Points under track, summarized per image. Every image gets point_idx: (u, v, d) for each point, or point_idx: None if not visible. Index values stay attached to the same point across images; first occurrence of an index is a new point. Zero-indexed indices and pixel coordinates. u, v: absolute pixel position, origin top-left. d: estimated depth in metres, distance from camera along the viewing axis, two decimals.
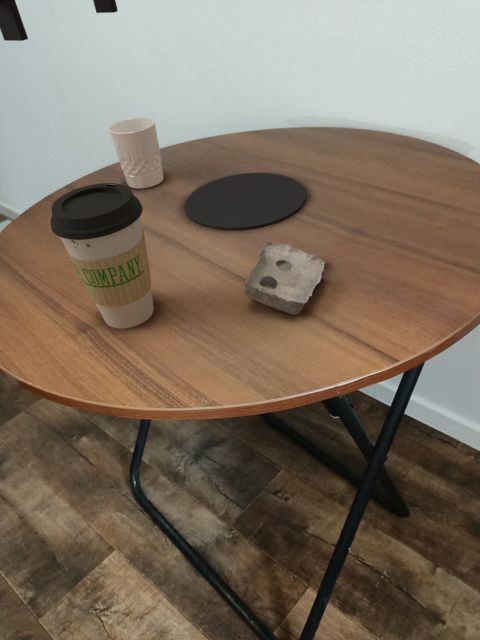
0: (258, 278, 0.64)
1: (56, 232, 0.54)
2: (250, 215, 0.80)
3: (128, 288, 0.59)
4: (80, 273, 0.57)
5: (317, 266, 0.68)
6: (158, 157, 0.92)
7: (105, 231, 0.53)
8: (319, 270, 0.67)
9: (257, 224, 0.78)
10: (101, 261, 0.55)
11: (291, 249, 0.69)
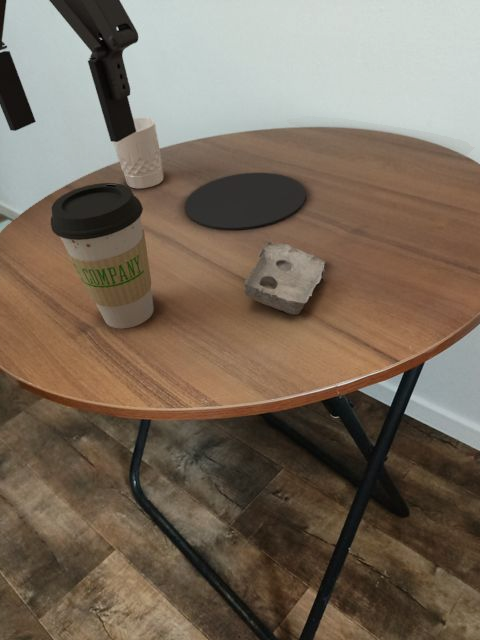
0: (258, 278, 0.64)
1: (56, 232, 0.54)
2: (250, 215, 0.80)
3: (128, 288, 0.59)
4: (80, 273, 0.57)
5: (317, 267, 0.68)
6: (158, 157, 0.92)
7: (105, 231, 0.53)
8: (319, 270, 0.67)
9: (257, 224, 0.78)
10: (101, 261, 0.55)
11: (291, 249, 0.69)
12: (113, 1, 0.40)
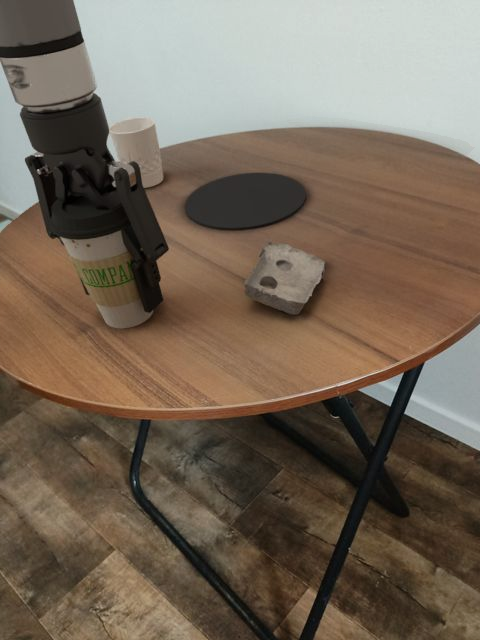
0: (258, 278, 0.64)
1: (56, 232, 0.54)
2: (250, 215, 0.80)
3: (128, 288, 0.59)
4: (80, 273, 0.57)
5: (317, 266, 0.68)
6: (158, 157, 0.92)
7: (105, 231, 0.53)
8: (319, 270, 0.67)
9: (257, 224, 0.78)
10: (101, 261, 0.55)
11: (291, 249, 0.69)
12: (155, 229, 0.54)
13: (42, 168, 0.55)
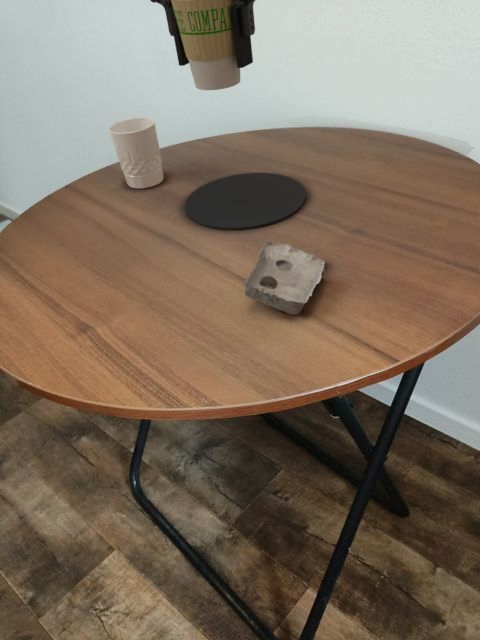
0: (258, 278, 0.64)
1: None
2: (250, 215, 0.80)
3: (225, 39, 0.65)
4: (184, 21, 0.64)
5: (317, 266, 0.68)
6: (158, 157, 0.92)
7: None
8: (319, 270, 0.67)
9: (257, 224, 0.78)
10: (207, 0, 0.61)
11: (291, 249, 0.69)
12: None
13: None
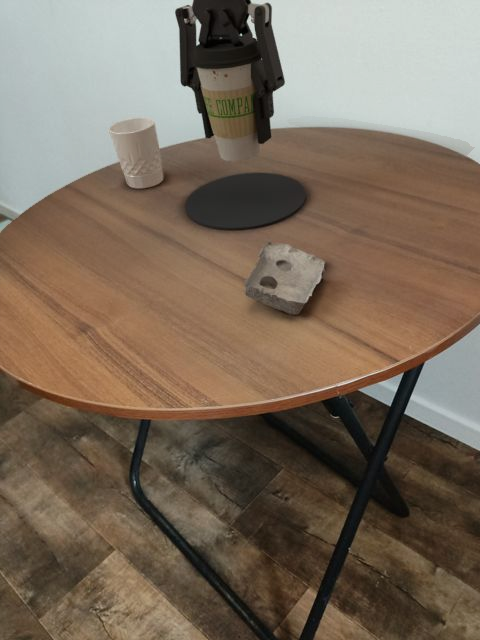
0: (258, 278, 0.64)
1: (201, 65, 0.69)
2: (250, 215, 0.80)
3: (248, 120, 0.74)
4: (212, 106, 0.73)
5: (317, 267, 0.68)
6: (158, 157, 0.92)
7: (241, 62, 0.68)
8: (319, 270, 0.67)
9: (257, 224, 0.78)
10: (233, 91, 0.71)
11: (291, 249, 0.69)
12: (277, 63, 0.69)
13: (188, 18, 0.70)
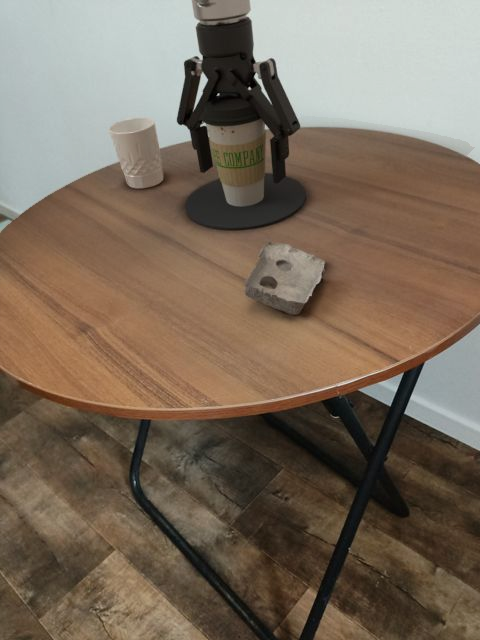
0: (258, 278, 0.64)
1: (209, 122, 0.74)
2: (250, 215, 0.80)
3: (253, 170, 0.79)
4: (220, 157, 0.78)
5: (317, 266, 0.68)
6: (158, 157, 0.92)
7: (247, 120, 0.73)
8: (319, 270, 0.67)
9: (257, 224, 0.78)
10: (240, 145, 0.76)
11: (291, 249, 0.69)
12: (290, 109, 0.73)
13: (195, 71, 0.75)
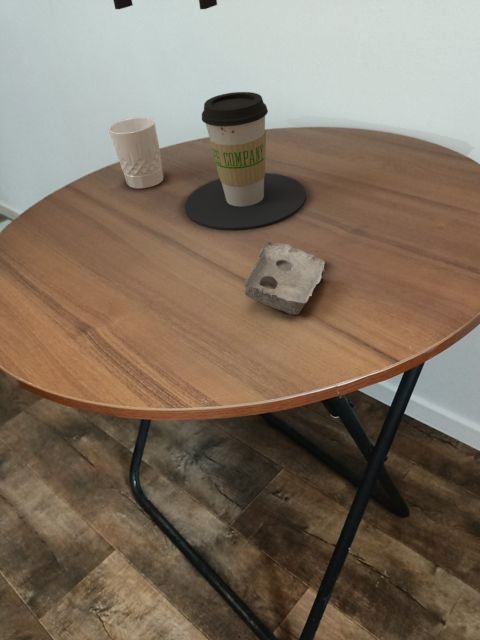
0: (258, 278, 0.64)
1: (209, 122, 0.74)
2: (250, 215, 0.80)
3: (253, 170, 0.79)
4: (220, 157, 0.78)
5: (317, 266, 0.68)
6: (158, 157, 0.92)
7: (247, 120, 0.73)
8: (319, 270, 0.67)
9: (257, 224, 0.78)
10: (240, 145, 0.76)
11: (291, 249, 0.69)
12: None
13: None
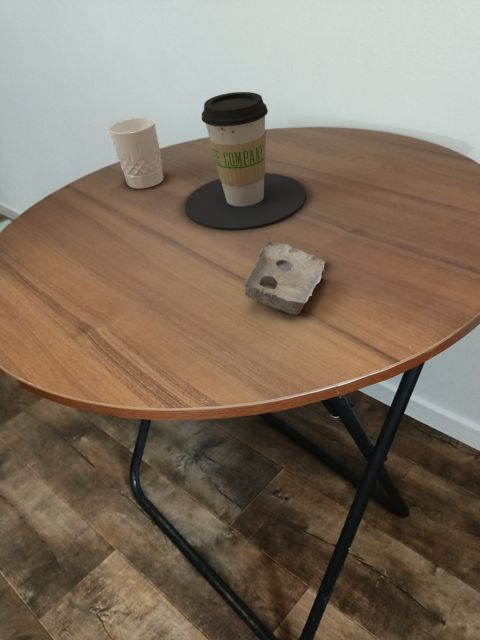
0: (258, 278, 0.64)
1: (209, 122, 0.74)
2: (250, 215, 0.80)
3: (253, 170, 0.79)
4: (220, 157, 0.78)
5: (317, 266, 0.68)
6: (158, 157, 0.92)
7: (247, 120, 0.73)
8: (319, 270, 0.67)
9: (257, 224, 0.78)
10: (240, 145, 0.76)
11: (291, 249, 0.69)
12: None
13: None
